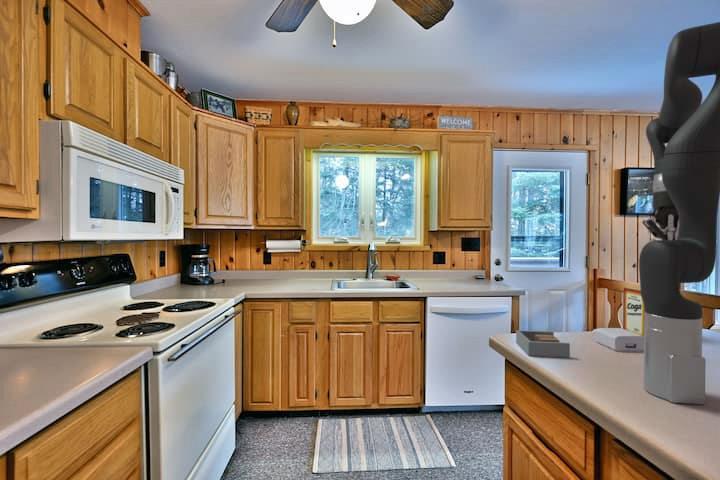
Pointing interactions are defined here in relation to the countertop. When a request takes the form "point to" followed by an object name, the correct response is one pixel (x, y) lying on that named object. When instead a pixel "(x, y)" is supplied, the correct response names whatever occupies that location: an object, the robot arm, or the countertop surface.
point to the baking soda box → (633, 311)
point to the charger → (619, 339)
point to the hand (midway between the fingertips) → (670, 254)
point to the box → (541, 345)
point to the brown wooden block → (545, 338)
